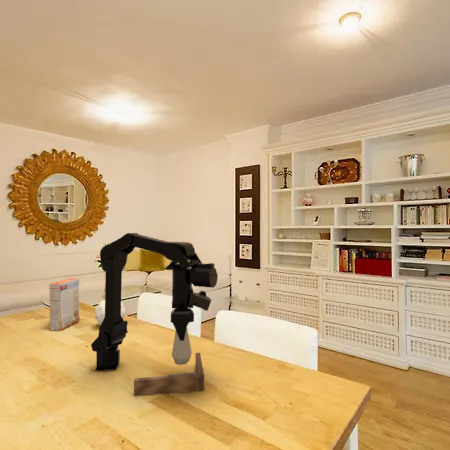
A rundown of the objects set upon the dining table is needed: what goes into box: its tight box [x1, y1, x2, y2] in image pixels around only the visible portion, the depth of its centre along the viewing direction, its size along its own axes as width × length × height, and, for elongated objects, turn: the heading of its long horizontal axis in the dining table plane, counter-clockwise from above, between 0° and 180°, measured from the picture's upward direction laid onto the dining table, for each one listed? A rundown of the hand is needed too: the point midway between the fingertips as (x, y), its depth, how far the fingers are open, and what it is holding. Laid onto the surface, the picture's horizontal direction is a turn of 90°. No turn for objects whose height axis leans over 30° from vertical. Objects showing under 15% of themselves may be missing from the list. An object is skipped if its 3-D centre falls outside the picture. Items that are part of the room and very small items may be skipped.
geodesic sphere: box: [94, 299, 127, 326], centre depth 147 cm, size 14×14×14 cm
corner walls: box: [133, 352, 205, 397], centre depth 96 cm, size 19×17×4 cm
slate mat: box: [166, 372, 197, 376], centre depth 94 cm, size 9×9×1 cm
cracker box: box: [48, 278, 80, 331], centre depth 148 cm, size 14×6×21 cm, turn 172°
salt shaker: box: [171, 322, 193, 366], centre depth 94 cm, size 6×6×13 cm
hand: (181, 338), depth 94 cm, fingers closed on salt shaker, 3 cm apart
